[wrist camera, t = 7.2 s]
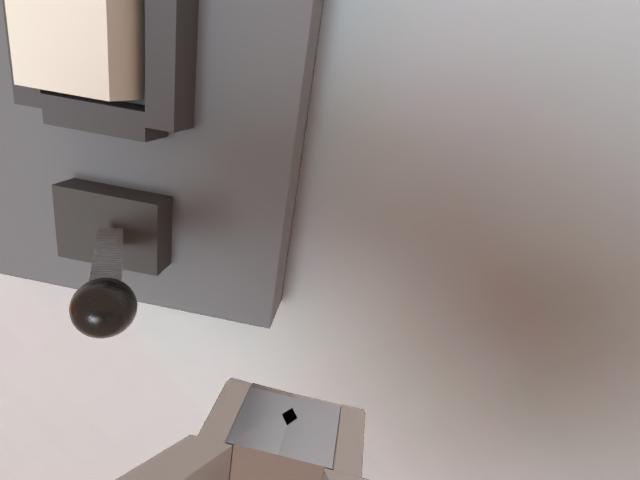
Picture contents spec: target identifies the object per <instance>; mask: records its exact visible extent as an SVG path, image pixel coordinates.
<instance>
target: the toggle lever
mask: <svg viewBox="0 0 640 480" xmlns="http://www.w3.org/2000/svg"><path fill="white" fill-rule="evenodd" d="M123 253H124V243H123V228H98V231H97V237H96V243H95V249H94V254H93V260H92V266H91V272H90V278H89V282H87V283H85V284H84V285H82V286H81V287H80V288H79V289H78V290H77V291H76V293H75V294H74V295H73V297H72V300H71V302H70V307H69V314H70V318H71V321H72V323H73V325H74V326H75V327H76V329H78V330H79V331H80V332H81V333H83V334H84V335H87V336H89V337H93V338H109V337H112V336H115V335H117V334H119V333H121V332H123V331H124V330H125V329H126V328H127V327H129V325H130V324H131V323H132V321H133V320H134V318H135V315H136V312H137V299H136V296H135V294H134V292H133V290H132V289H131V288H130V287H129V286H128V285H127V284H126V283H124V282H123Z"/></svg>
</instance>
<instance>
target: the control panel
mask: <svg viewBox="0 0 640 480" xmlns="http://www.w3.org/2000/svg"><path fill="white" fill-rule="evenodd" d="M323 1H324V0H144V100H128V101H111V102H109V101H103V100H98V99H92V98H87V97H81V96H75V95H70V94H64V93H59V92H53V91H48V90H42V89H37V88H31V87H25V86H20V85H14V78H13V69H12V61H11V52H10V44H9V35H8V27H7V18H6V9H5V1H4V0H0V274H5V275H10V276H15V277H20V278H25V279H30V280H35V281H40V282H45V283H49V284H54V285H59V286H64V287H69V288H74V289H79V288H80V287H81V286H82V285H84V284H85V283H87V282H89V278H90V272H91V266H92V260H93V254H94V249H95V243H96V237H97V231H98V228H123V243H124V253H123V282H124V283H126V284H127V285H128V286H129V287H130V288H131V289H132V290H133V292H134V294H135V296H136V299H137V302H142V303H147V304H152V305H157V306H162V307H167V308H172V309H177V310H181V311H186V312H191V313H196V314H201V315H206V316H211V317H216V318H221V319H225V320H230V321H235V322H240V323H245V324H250V325H255V326H260V327H265V328H269V329H270V326H271V324H272V322H273V319H274V317H275V314H276V312H277V309H278V307H279V305H280V302H281V298H282V291H283V284H284V277H285V270H286V263H287V255H288V248H289V241H290V234H291V227H292V220H293V213H294V206H295V199H296V192H297V185H298V178H299V171H300V164H301V157H302V150H303V142H304V135H305V128H306V121H307V114H308V107H309V100H310V93H311V86H312V79H313V72H314V65H315V58H316V51H317V44H318V37H319V29H320V22H321V15H322V8H323Z"/></svg>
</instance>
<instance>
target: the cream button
mask: <svg viewBox="0 0 640 480" xmlns="http://www.w3.org/2000/svg"><path fill="white" fill-rule="evenodd" d="M4 1H5V9H6V18H7V27H8V35H9V44H10V52H11V61H12V69H13V78H14V85H20V86H25V87H31V88H37V89H42V90H48V91H53V92H59V93H64V94H70V95H75V96H81V97H87V98H92V99H98V100H103V101H109V102H111V101H128V100H144V0H4Z"/></svg>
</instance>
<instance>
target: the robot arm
mask: <svg viewBox="0 0 640 480" xmlns="http://www.w3.org/2000/svg"><path fill="white" fill-rule="evenodd" d="M364 427H365V411H364V409H360V408H356V407H351V406H347V405H342V404H341V405H340V404H337V403H332V402H328V401H324V400H319V399H315V398H311V397H306V396H302V395H298V394H293V393H289V392H285V391H281V390H278V389H274V388H270V387H266V386H263V385H259V384H255V383H253V384H252V383H249V382H245V381H242V380H238V379H234V378H230V379H229V380H228V381H227V382H226V384H225V386H224V387H223V389H222V391H221V393H220V395H219V397H218V399H217V400H216V402H215V404H214V406H213V408H212V410H211V412H210V414H209V415H208V417H207V419H206V421H205V423H204V425H203V427H202V429H201V430H200V432H199V434H198V436H194V435H189V436H187V437H186V438H184V439H182V440H181V441H179V442H177V443H176V444H174V445H172V446H171V447H169V448H167V449H166V450H164V451H162V452H161V453H159V454H157V455H156V456H154V457H152V458H151V459H149V460H147V461H146V462H144V463H142V464H141V465H139V466H137V467H136V468H134V469H132V470H131V471H129V472H127V473H126V474H124V475H123V476H121V477H119V478H118V479H116V480H369V479H365V478H362V464H363V445H364Z"/></svg>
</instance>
